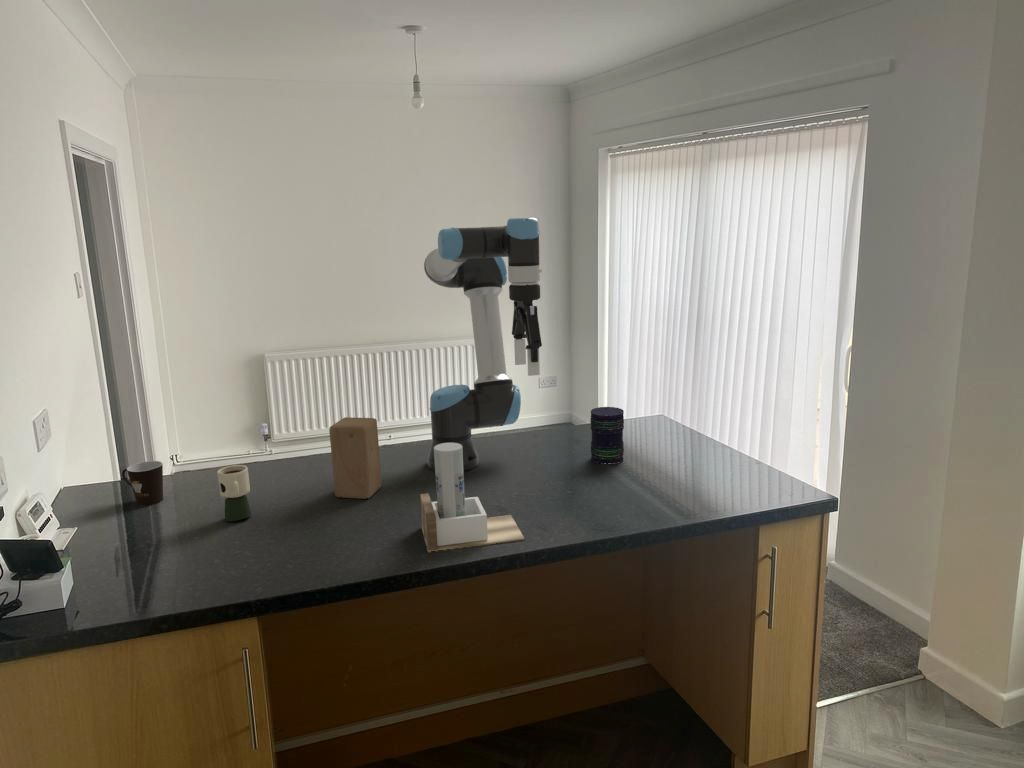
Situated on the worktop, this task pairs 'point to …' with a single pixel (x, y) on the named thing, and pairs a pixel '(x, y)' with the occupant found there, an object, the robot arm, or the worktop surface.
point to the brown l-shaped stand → (497, 531)
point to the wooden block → (355, 457)
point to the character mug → (235, 491)
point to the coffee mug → (146, 481)
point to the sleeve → (462, 524)
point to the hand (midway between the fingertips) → (526, 369)
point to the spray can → (449, 480)
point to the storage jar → (607, 435)
